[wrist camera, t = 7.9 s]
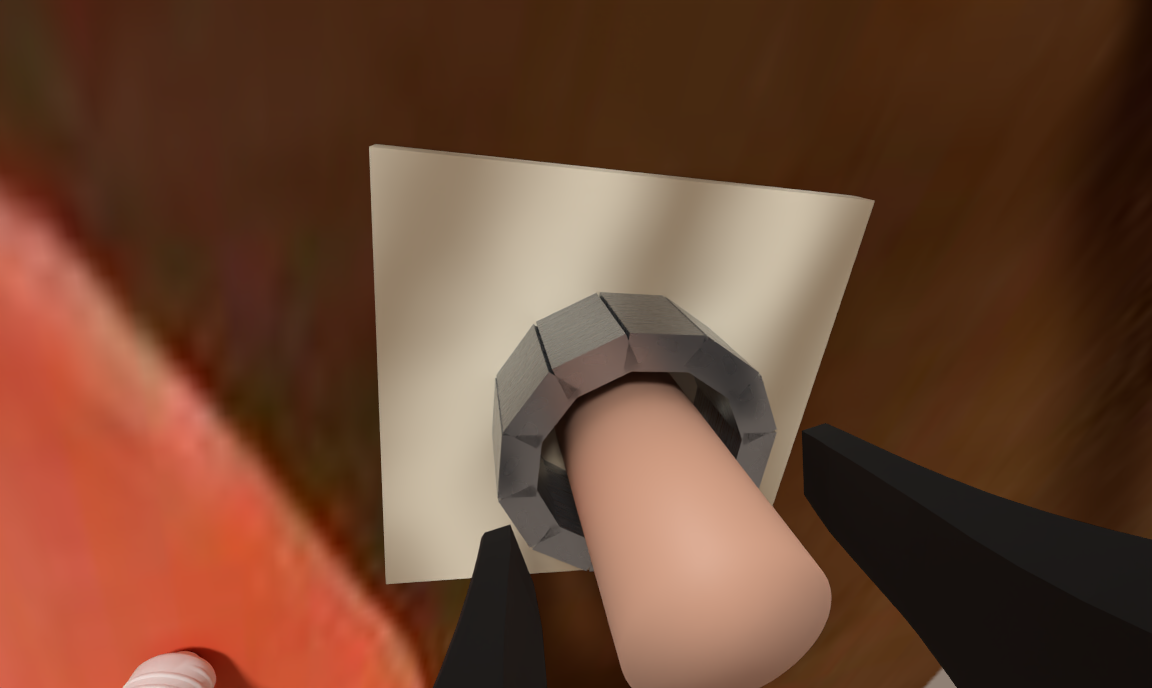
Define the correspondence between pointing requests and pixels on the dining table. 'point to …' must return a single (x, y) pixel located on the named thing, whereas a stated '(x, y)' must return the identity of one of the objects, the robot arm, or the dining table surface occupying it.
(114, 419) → the dining table surface
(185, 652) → the lightbulb
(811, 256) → the socket board
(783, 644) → the peg
